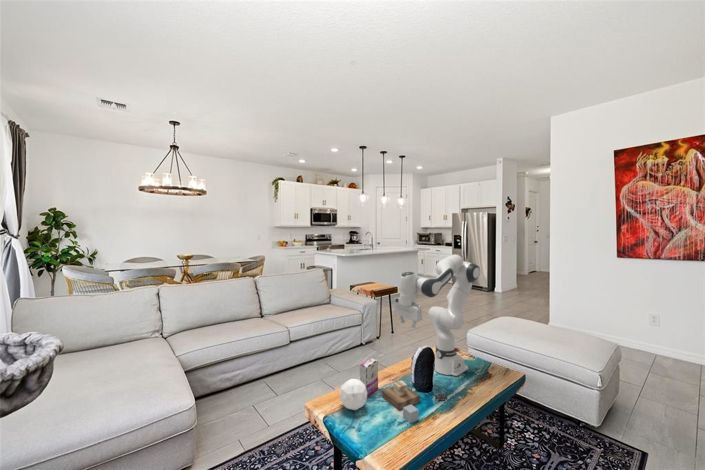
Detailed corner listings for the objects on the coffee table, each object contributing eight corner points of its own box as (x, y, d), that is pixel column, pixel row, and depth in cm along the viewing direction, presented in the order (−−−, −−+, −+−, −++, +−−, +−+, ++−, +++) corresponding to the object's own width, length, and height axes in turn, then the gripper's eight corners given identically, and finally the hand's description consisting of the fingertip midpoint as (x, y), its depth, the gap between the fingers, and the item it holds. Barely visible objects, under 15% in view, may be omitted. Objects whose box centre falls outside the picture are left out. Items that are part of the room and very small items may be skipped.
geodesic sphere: (371, 416, 143) (371, 386, 143) (342, 420, 141) (341, 390, 141) (364, 399, 158) (364, 372, 158) (337, 402, 156) (337, 374, 155)
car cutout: (436, 405, 153) (436, 397, 152) (432, 398, 159) (432, 390, 159) (465, 404, 153) (465, 396, 153) (460, 397, 160) (460, 389, 160)
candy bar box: (370, 385, 171) (370, 357, 171) (378, 388, 168) (378, 359, 168) (359, 394, 162) (359, 364, 162) (367, 397, 159) (366, 367, 159)
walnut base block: (402, 390, 167) (402, 383, 167) (419, 403, 155) (419, 395, 155) (381, 397, 160) (381, 390, 160) (398, 411, 148) (398, 403, 148)
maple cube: (401, 389, 161) (401, 380, 160) (407, 394, 156) (407, 384, 156) (393, 391, 158) (393, 382, 158) (399, 396, 154) (399, 387, 154)
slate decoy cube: (411, 414, 145) (411, 404, 145) (418, 420, 140) (418, 409, 140) (403, 417, 142) (403, 407, 142) (410, 423, 138) (410, 413, 138)
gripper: (425, 304, 162) (425, 329, 162) (401, 296, 180) (401, 319, 180) (416, 305, 159) (416, 331, 159) (392, 298, 177) (392, 321, 177)
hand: (407, 325), depth 170 cm, fingers open, 8 cm apart
